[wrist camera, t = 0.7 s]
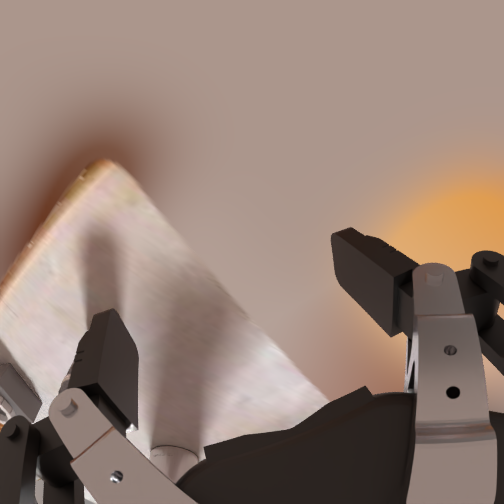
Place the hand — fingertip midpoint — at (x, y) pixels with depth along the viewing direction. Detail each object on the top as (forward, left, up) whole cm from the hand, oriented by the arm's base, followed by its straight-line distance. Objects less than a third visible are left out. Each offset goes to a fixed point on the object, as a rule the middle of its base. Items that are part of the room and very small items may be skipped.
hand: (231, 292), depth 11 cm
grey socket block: (-20, +52, -21) cm, 60 cm away
